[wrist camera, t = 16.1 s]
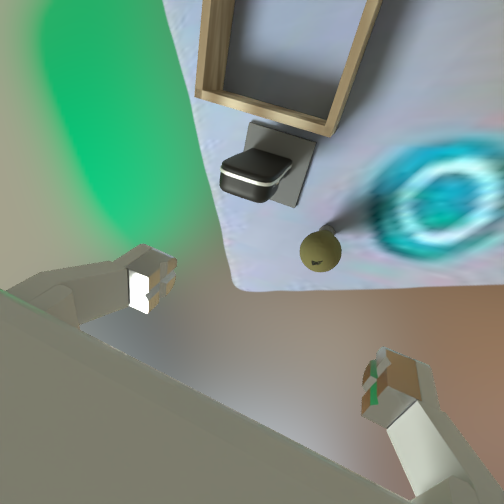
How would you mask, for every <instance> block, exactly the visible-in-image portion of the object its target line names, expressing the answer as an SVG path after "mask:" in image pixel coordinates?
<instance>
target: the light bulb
mask: <svg viewBox="0 0 504 504" xmlns="http://www.w3.org/2000/svg"><path fill="white" fill-rule="evenodd" d="M334 234H335V232H334V229H333V228H332V227H331V226H328V225H325V226H322V227H321V228H320V229H319V231H317V232H314V233H311V234H310V235H308V236H307V237H306V238H305V239H304V240H303V242H302V244H301V246H300V257H301V260H302V262H303V264H304V265H305V266H306V267H307V268H309V269H310V270H312V271H315V272H326V271H329V270H331V269H333V268H334V267H335V266H336V265H337V264H338V262H339V260H340V258H341V251H342V250H341V245H340V243H339V241H338V239H337V238H336V237H335V236H334Z"/></svg>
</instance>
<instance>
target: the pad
mask: <svg viewBox="0 0 504 504" xmlns="http://www.w3.org/2000/svg"><path fill="white" fill-rule="evenodd" d="M315 145H316V142H314V141H310V140H307V139H304V138H300V137H297V136H294V135H291V134H287V133H284V132H281V131H278V130H274V129H271V128H268V127H264V126H261V125H258V124H255V123H251V122H250V123H249V126H248V131H247V136H246V142H245V147H244V152H245V151H247V150H249V149H251V148H255V149H259V150H262V151H265V152H269V153H272V154H275V155H279V156H282V157H285V158H288V159H291V160H292V167H291V168H290V172H289V174H288V175H287V177H286V178H284V179H282V180H281V181H280V183H279V186H278V189H277V191H276V193H275V194H274V195H273V196H272V197H271V198H270V200H273V201H275V202H278V203H281V204H284V205H287V206H290V207H292V208H295V206H296V203H297V200H298V197H299V194H300V191H301V188H302V185H303V182H304V179H305V176H306V173H307V170H308V167H309V163H310V160H311V157H312V154H313V151H314V148H315Z"/></svg>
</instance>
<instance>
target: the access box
mask: <svg viewBox="0 0 504 504" xmlns="http://www.w3.org/2000/svg"><path fill="white" fill-rule="evenodd" d="M382 1H383V0H367V2H366V5H365V8H364V11H363V14H362V17H361V20H360V23H359V26H358V29H357V32H356V35H355V38H354V41H353V44H352V47H351V50H350V53H349V56H348V59H347V62H346V65H345V68H344V71H343V74H342V77H341V80H340V83H339V86H338V89H337V92H336V95H335V98H334V101H333V104H332V107H331V110H330V113H329V116H328V118H327V120H325V119H321V118H318V117H314V116H311V115H307V114H304V113H300V112H297V111H294V110H290V109H287V108H283V107H280V106H276V105H273V104H269V103H266V102H262V101H259V100H255V99H252V98H248V97H245V96H241V95H238V94H235V93H231V92H228V91H224V90H223V86H224V79H225V72H226V64H227V57H228V49H229V42H230V35H231V27H232V20H233V13H234V5H235V0H203V4H202V15H201V27H200V39H199V50H198V62H197V73H196V85H195V96H194V97H196V98H200V99H203V100H206V101H210V102H213V103H216V104H220V105H223V106H226V107H230V108H233V109H236V110H240V111H243V112H246V113H250V114H253V115H256V116H260V117H263V118H266V119H270V120H273V121H276V122H280V123H283V124H286V125H290V126H293V127H296V128H300V129H303V130H306V131H310V132H313V133H316V134H320V135H323V136H327V137H331V136H332V135H333V134H334V133H335V132H336V129H337V127H338V124H339V121H340V118H341V116H342V113H343V110H344V107H345V104H346V102H347V99H348V96H349V93H350V90H351V88H352V85H353V82H354V79H355V76H356V74H357V71H358V68H359V65H360V63H361V60H362V57H363V54H364V51H365V49H366V46H367V43H368V40H369V37H370V35H371V32H372V29H373V26H374V24H375V21H376V18H377V15H378V12H379V10H380V7H381V4H382Z"/></svg>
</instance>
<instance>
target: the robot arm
mask: <svg viewBox="0 0 504 504" xmlns="http://www.w3.org/2000/svg"><path fill="white" fill-rule="evenodd" d="M176 266H177V259H176V258H175V257H173V256H171V255H168V254H166V253H164V252H162V251H159V250H157V249H155V248H152V247H150V246H148V245H146V244H140V245H138V246H137V247H135V248H133V249H132V250H130V251H129V252H127V253H126V254H124V255H123V256H121V257H119V258H118V259H116V260H115V261H114V262H111V261H105V262H99V263H93V264H87V265H81V266H75V267H69V268H63V269H57V270H51V271H45V272H40V273H38V274H36V275H34V276H32V277H30V278H28V279H26V280H25V281H23V282H21V283H19V284H17V285H16V286H14V287H12V288H10V289H8V290H6V291H4V290H2V289H0V504H504V491H503V489H502V488H501V487H500V485H499V484H498V483H497V481H496V480H495V479H494V477H493V476H492V475H491V473H490V472H489V471H488V469H487V468H486V466H485V465H484V464H483V462H482V461H481V460H480V458H479V457H478V456H477V454H476V453H475V452H474V450H473V449H472V448H471V446H470V445H469V444H468V442H467V441H466V440H465V438H464V437H463V436H462V434H461V433H460V432H459V430H458V429H457V428H456V426H455V425H454V424H453V422H452V421H451V419H450V418H449V417H448V415H447V414H446V413H445V412H442V411H441V410H440V405H439V401H438V396H437V392H436V387H435V383H434V379H433V374H432V369H431V367H430V366H429V365H427V364H425V363H422V362H420V361H418V360H415V359H412V358H410V357H407V356H405V355H403V354H400V353H398V352H395V351H393V350H390V349H388V348H386V347H381V348H380V349H379V350H378V352H377V353H376V359H375V360H371V361H370V362H369V364H368V365H367V367H366V370H365V372H364V375H363V383H362V386H363V388H364V390H365V392H366V393H365V395H364V396H363V397H362V410H361V416H362V417H364V418H367V419H368V420H370V421H372V422H375V423H376V424H378V425H380V426H382V427H384V428H386V429H387V433H388V435H389V437H390V439H391V442H392V444H393V446H394V448H395V450H396V453H397V455H398V457H399V460H400V462H401V464H402V466H403V469H404V471H405V473H406V475H407V478H408V480H409V482H410V484H411V486H412V489H413V491H414V493H415V495H416V498H414V499H412V500H411V501H409V500H407V499H405V498H403V497H401V496H399V495H397V494H395V493H394V492H391V491H390V490H388V489H386V488H384V487H382V486H380V485H378V484H376V483H374V482H372V481H370V480H369V479H366V478H365V477H363V476H361V475H359V474H357V473H355V472H353V471H351V470H349V469H347V468H345V467H343V466H342V465H339V464H338V463H336V462H334V461H332V460H330V459H328V458H326V457H324V456H322V455H320V454H318V453H316V452H314V451H312V450H311V449H309V448H307V447H305V446H303V445H301V444H299V443H297V442H295V441H293V440H291V439H289V438H287V437H285V436H284V435H282V434H280V433H278V432H276V431H274V430H272V429H270V428H268V427H266V426H264V425H262V424H260V423H258V422H256V421H255V420H253V419H250V418H248V417H247V416H245V415H243V414H241V413H239V412H237V411H235V410H233V409H231V408H229V407H227V406H226V405H224V404H222V403H220V402H218V401H216V400H214V399H212V398H210V397H208V396H206V395H204V394H202V393H201V392H199V391H197V390H195V389H193V388H191V387H189V386H187V385H185V384H183V383H181V382H179V381H177V380H176V379H174V378H172V377H170V376H168V375H166V374H164V373H162V372H160V371H158V370H156V369H154V368H152V367H151V366H148V365H146V364H145V363H143V362H141V361H139V360H137V359H135V358H133V357H131V356H129V355H127V354H125V353H123V352H122V351H120V350H118V349H116V348H114V347H112V346H110V345H108V344H106V343H104V342H102V341H100V340H98V339H97V338H95V337H93V336H91V335H89V334H87V333H85V332H83V331H81V330H80V327H79V325H80V324H83V323H86V322H89V321H91V320H94V319H97V318H99V317H102V316H105V315H107V314H110V313H112V312H115V311H118V310H120V309H123V308H126V307H128V306H129V305H130V306H132V307H134V308H136V309H139V310H141V311H143V312H145V313H149V312H150V311H151V310H152V309H153V308H154V307H155V306H156V305H157V304H158V303H159V298H160V297H164V296H166V295H167V294H168V293H169V292H170V291H171V289H172V288H173V286H174V283H175V280H176V274H175V272H174V270H173V269H174V268H176Z"/></svg>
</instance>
